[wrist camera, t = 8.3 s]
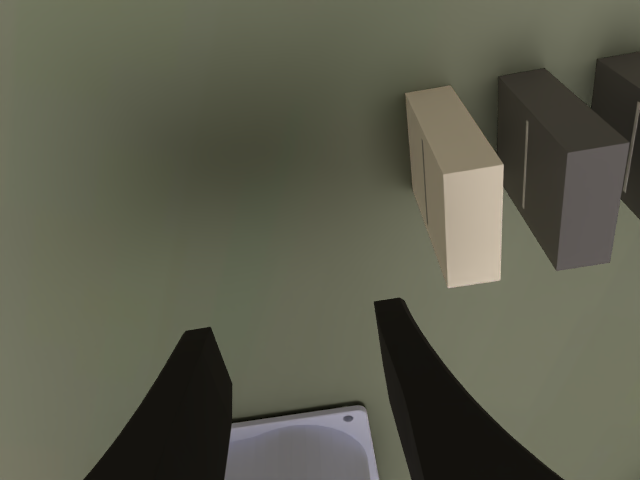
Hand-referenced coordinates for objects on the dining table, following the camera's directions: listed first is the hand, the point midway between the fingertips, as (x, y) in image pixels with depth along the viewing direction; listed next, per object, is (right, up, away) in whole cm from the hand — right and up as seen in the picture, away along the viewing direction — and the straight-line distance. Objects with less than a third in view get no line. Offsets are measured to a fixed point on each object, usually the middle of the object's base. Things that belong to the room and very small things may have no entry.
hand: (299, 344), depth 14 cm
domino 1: (+5, +6, +7) cm, 11 cm away
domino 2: (+8, +7, +7) cm, 13 cm away
